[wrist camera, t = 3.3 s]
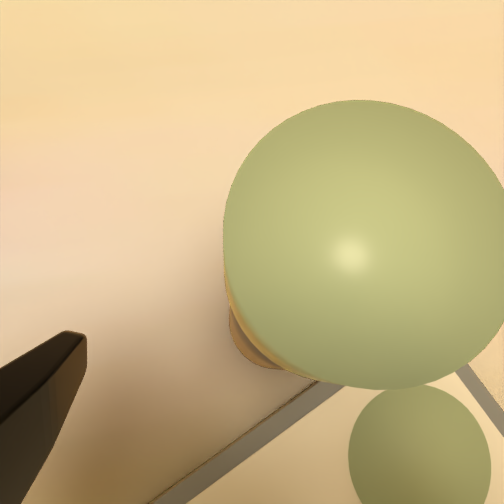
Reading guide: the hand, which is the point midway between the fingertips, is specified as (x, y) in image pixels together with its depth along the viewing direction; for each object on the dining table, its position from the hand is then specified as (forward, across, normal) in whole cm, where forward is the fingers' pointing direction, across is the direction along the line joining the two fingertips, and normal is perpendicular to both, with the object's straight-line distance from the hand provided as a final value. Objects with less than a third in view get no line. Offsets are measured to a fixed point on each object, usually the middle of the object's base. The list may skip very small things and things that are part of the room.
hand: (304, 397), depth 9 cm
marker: (+9, 0, +5) cm, 10 cm away
